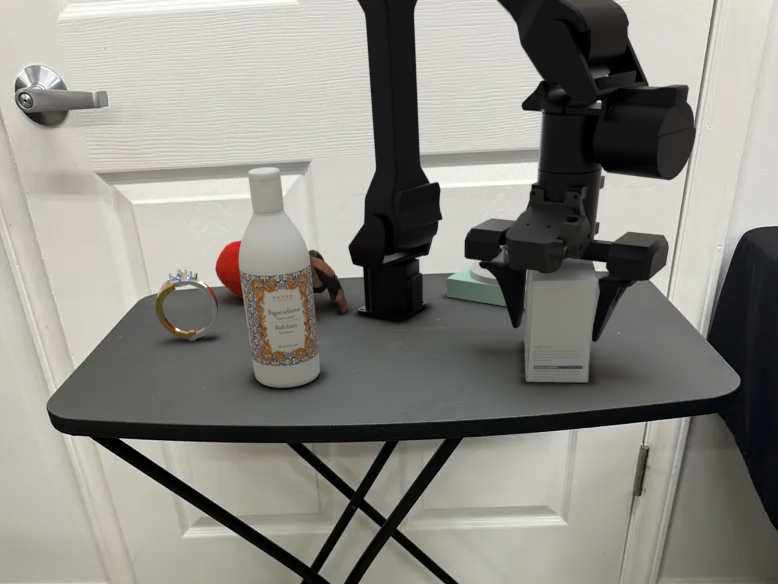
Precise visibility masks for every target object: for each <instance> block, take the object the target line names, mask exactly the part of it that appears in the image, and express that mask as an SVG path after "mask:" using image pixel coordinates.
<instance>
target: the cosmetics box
mask: <svg viewBox="0 0 778 584" xmlns="http://www.w3.org/2000/svg"><path fill="white" fill-rule="evenodd" d="M599 279H600V278H598V274H597V271H596V268H595V264H594V261H588V260H579V259H571V258H567V259H564V260H563V261H562V264H561V266H560V268H559V269H558V270H557V271H555V272H553V273H550V274H544V273H540V272H539V271H535V270H527V282H526V303H525V309H524V335H523V336H524V361H525V362H524V367H525V368H524V369H525V382H527V383H582V384H583V383H585V384H587V383H589V374H590V360H591V359H590V358H591V349H592V330H593V323H594V318H595V313H596V305H597V295H598V289H599V284H598V280H599Z"/></svg>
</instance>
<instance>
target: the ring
mask: <svg viewBox="0 0 778 584" xmlns="http://www.w3.org/2000/svg"><path fill="white" fill-rule="evenodd" d="M167 275H168V277H169V278H168V279H166V280H165V281H164V282H163V283H162V284H161V286H160V288H159V290H158V292H157V296H156V300H155V304H154V307H155V314H156V316H157V319H158V321H159V322H160V324H161V325H162V327H163V328H164V329H165V330H166V331H167V332H169V333H170V334H172V335H173V336H175V337H178V338H180V339H186V340H189V341H190V342H195V341H196V340H197V339H200V338H202V337H204V336H206V335H207V334H208V333H210V331H211V330H212V329H213V328H214V326H215V324H216V322H217V320H218V316H219V303H218V299H217V296H216V294H215V292H214V290H212V288H211V287H210V286H209V285H208V284H206V283H205V282H203V281H202V280H200V279H198V272H194V275H193V271H192V270H189V273H188V270H187V269H184V271H181V269H179V268H178V269H176V274H175V275H172V273H171V272H170V273H168V274H167ZM186 286H192V287H194V288H197V289H198V290H200V291H201V292H203V294H205V296H206V297H207V299H208V301H209V303H210V307H211V317H210V320H209V322H208V323H207V324H206V325H205V326H204V327H203V328H201V329H200V330H199V329H198V330H195V329H190V330H189V331H185V330H181V329H179V328H177V327H176V326H174V325H173V324H172V323H171V322H170V321H169V320H168V319H167V317H166V315H165V313H164V307H163V306H164V301H165V299H166V298H167V296H169V295H170V294H171V293H172V292H174V291H176V288H183V287H186Z"/></svg>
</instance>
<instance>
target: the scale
mask: <svg viewBox="0 0 778 584" xmlns="http://www.w3.org/2000/svg"><path fill="white" fill-rule="evenodd" d="M479 262H481V261H480V260H474V262H472V263H471V264H469V265H467V266H466V267H464V268H462V269H461V270H459V271H457V272H455V273H453V274H452V275H449V277H447V278H446V298H453V299H459V300H464V301H471V302H476V303H483V304H489V305H497V306H501V307H507V306H506V303H505V300H504V297H503V294H502V291H501V288H500V286H499V284H498V282H497V279H496V278H495V277H494V276H493V275H492V274H491V273H490V272H489V271H488V270H487V269H482V268H481V267H480V266H479ZM526 282H527V274H526ZM525 303H526V286H525V298H524V310H525Z"/></svg>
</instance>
